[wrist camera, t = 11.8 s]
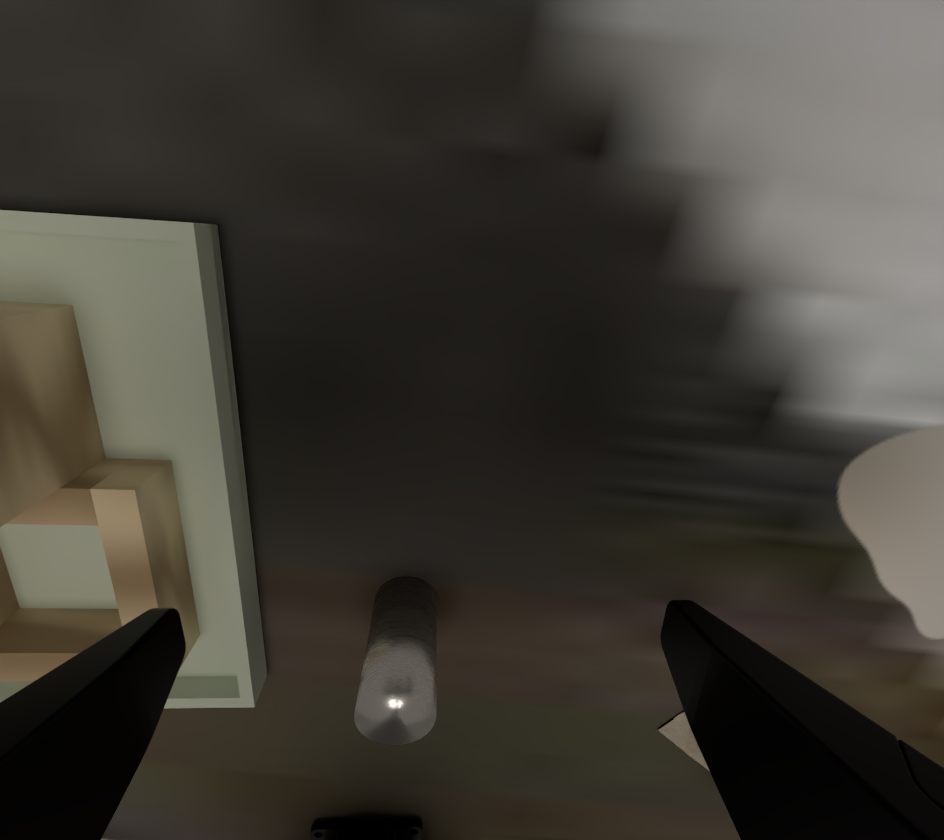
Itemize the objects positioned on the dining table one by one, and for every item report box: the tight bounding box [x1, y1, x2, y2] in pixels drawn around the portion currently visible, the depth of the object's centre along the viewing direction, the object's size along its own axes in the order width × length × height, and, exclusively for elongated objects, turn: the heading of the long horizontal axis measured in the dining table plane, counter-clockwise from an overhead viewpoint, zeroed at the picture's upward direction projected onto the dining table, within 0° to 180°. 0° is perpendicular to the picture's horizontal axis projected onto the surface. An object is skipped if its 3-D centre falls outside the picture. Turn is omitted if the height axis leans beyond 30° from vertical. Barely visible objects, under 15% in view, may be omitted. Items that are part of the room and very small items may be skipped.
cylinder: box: [354, 577, 437, 745], centre depth 21 cm, size 3×3×6 cm
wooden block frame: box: [0, 301, 200, 681], centre depth 17 cm, size 15×9×5 cm, turn 176°
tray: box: [0, 210, 267, 708], centre depth 19 cm, size 21×14×2 cm
